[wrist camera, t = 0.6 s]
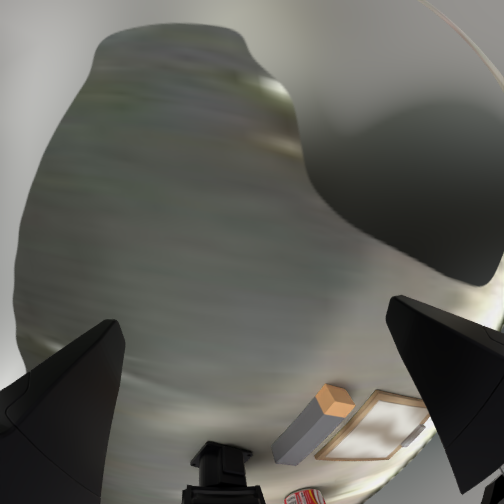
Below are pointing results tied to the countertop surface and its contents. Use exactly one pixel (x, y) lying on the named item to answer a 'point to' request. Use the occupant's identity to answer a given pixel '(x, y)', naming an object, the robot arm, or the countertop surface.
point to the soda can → (305, 497)
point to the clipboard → (377, 429)
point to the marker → (312, 425)
